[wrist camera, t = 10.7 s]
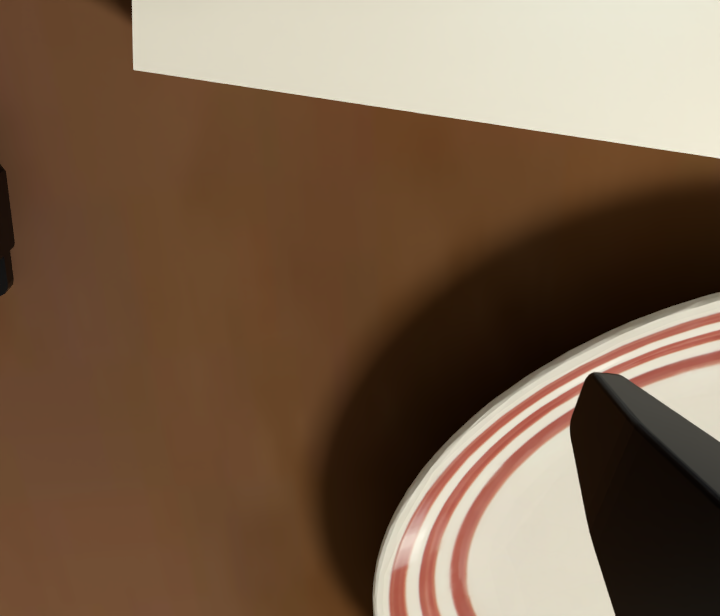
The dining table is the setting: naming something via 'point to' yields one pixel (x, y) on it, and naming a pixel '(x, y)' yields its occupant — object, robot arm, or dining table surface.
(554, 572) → the dinner plate
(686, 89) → the painted board
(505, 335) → the dining table surface
